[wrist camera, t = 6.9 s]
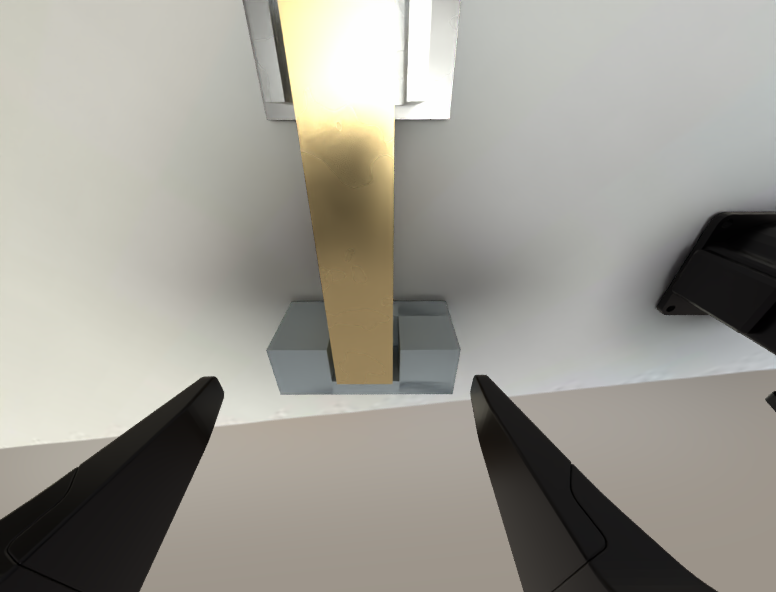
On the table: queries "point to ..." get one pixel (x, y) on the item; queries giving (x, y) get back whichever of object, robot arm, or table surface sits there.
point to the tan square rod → (348, 169)
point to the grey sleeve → (412, 57)
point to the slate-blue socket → (410, 351)
